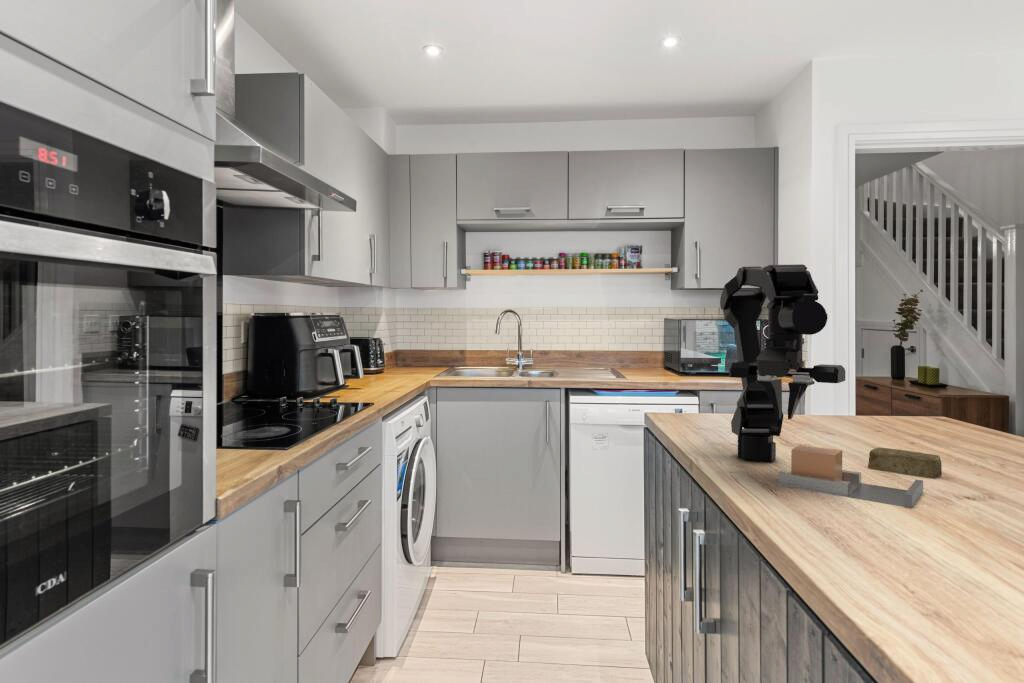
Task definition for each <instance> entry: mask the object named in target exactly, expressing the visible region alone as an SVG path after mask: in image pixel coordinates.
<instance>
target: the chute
mask: <svg viewBox="0 0 1024 683" xmlns="http://www.w3.org/2000/svg"><path fill="white" fill-rule="evenodd" d="M777 474H778V475H777V476H778V477H777V478H778V479H777V480H778V481H777V484H776V486H781V487H784V488H785V487H786V488H790V489H798V490H803V491H808V492H815V493H820V494H821V493H822V494H825V495H832V496H837V497H838V496H839V497H844V498H849V499H856V500H859V501H860V500H862V501H868V502H873V503H879V504H885V505H891V506H897V507H901V508H908V509H913V508H914V506H915V505H916V503H917V502H918V500H919V499H920V497H921V496H922V495H923V493H924V480H923V479H915V480H914V481H913V482H912V484H910V486H909V488H908V489H901V488H895V487H888V486H884V485H883V486H882V485H876V484H869V483H863V482H862V472H859V471H853V470H847V469H842V481H841V480H834V479H828V478H822V477H815V476H809V475H802V474H796V473H791V472H788V471H783V470H781V471H779V472H777Z"/></svg>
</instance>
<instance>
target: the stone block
mask: <svg viewBox="0 0 1024 683" xmlns="http://www.w3.org/2000/svg"><path fill="white" fill-rule="evenodd" d="M868 455H869V456H868V457H869V458H868V464H867V469H869V470H874V471H875V470H876V471H882V472H887V473H892V474H893V473H895V474H899V475H906V476H912V477H913V476H914V477H917V478H918V477H919V478H926V479H936V478H938V477H942V474H943V473H942V460H941V457H940V455H937V454H931V453H924V452H921V451H919V452H918V451H912V450H906V449H904V450H903V449H897V448H896V449H895V448H887V447H875V448H873V449H871V450H869V454H868Z"/></svg>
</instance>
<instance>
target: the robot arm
mask: <svg viewBox="0 0 1024 683" xmlns="http://www.w3.org/2000/svg"><path fill="white" fill-rule="evenodd" d="M743 286H750V287H754V288H742V287H743ZM755 287H756V288H758V290H757V289H756V288H755ZM719 298H720V299H719V306H720V309H721V310H722V313H723V317H724V320H725V321H726V323H728V324H729V326H730V327H732V329H733V332H734V339H735V346H736V352H737V358H738V359H737V360H738V361H734V362H731V364H730V365H729V368H728V377H730V378H737V379H738V378H740V379H741V385H742V392H741V393H740V395H739V398H738V400H737V401H736V409H735V411H734V413H733V416H732V419H731V422H730V428H731V432H732V434H734V435H736V436H737V459H740V460H742V461H746V462H750V463H769V464H772V463H774V462H776V461H777V460H776V458H777V457H776V455H777V453H776V450H777V445H776V444H777V443H776V442H775V441H774V436H776V437H780V436H781V433H782V428H783V427H782V426H783V421H784V413H783V388H782V387H783V386H782V384H783V383H782V382H783V381H782V380H783V379H782V378H784V377H786V378H787V377H790V378H792V381H789V382H787V384H788V389H789V394H788V404H787V405H788V406H787V420H792V419H793V418H794V415H795V412H796V410H797V408H798V405H799V403H800V401H801V399H802V397H803V395H804V394H805V391H807V389H808V387H809V386H812V385H813V386H814V384H815V383H825V384H840V383H842V382H845V381H846V369H845V367H844V366H843V365H841V364H817V365H816V364H815V365H813V367H805V366H804V365H805V361H804V360H803V345H805V338H804V335H805V336H806V335H807V336H809V335H812V336H813V335H816V334H818V333H820V332H821V331H823V330H824V328H825V327H826V325H827V323H828V319H829V318H828V313H827V311H826V309H825V307H824V306H823V305H822V304H821V302H820V303H819V302H818V300H819V290H818V287H817V286H816V284H815V281H814V280H813V277H812V275H811V272H810V271H809V270H808V267H807V266H806V265H805V264H769V265H767V266H763V267H761V266H760V265H759V266H756V265H755V266H742V267H739V268H738V270H737V272H736V274H735V276H734V277H732V278H731V279H730V280H729V281H728V282H726V283H725V284H724V286H723V289H722V292H721V295H720V297H719ZM766 299H767V300H768V303H767V304H766V309H767V310H768V312H767V314H768V318H767V319H768V320H767V321H768V323H767V324H768V325H767V326H768V329H767V331H768V332H767V333H768V335H767V336H768V337H767V339H765V347H764V350H761V345H760V338H759V332H758V327H757V321H758V319H759V318H760V315H761V313H762V312H763V311H762V310H763V305H765V304H764V303H765V301H766Z"/></svg>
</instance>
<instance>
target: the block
mask: <svg viewBox="0 0 1024 683" xmlns="http://www.w3.org/2000/svg"><path fill="white" fill-rule="evenodd" d="M790 452H791V454H790V456H791V462H790V463H791V464H790V465H791V466H790V468H791V471H790V473H796V474H802V475H809V476H815V477H822V478H828V479H834V480H841V481H842V470H843V450H842V449H835V448H828V447H819V446H810V445H803V444H798V445H797V446H796V447H794V448H792V449H791V451H790Z"/></svg>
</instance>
